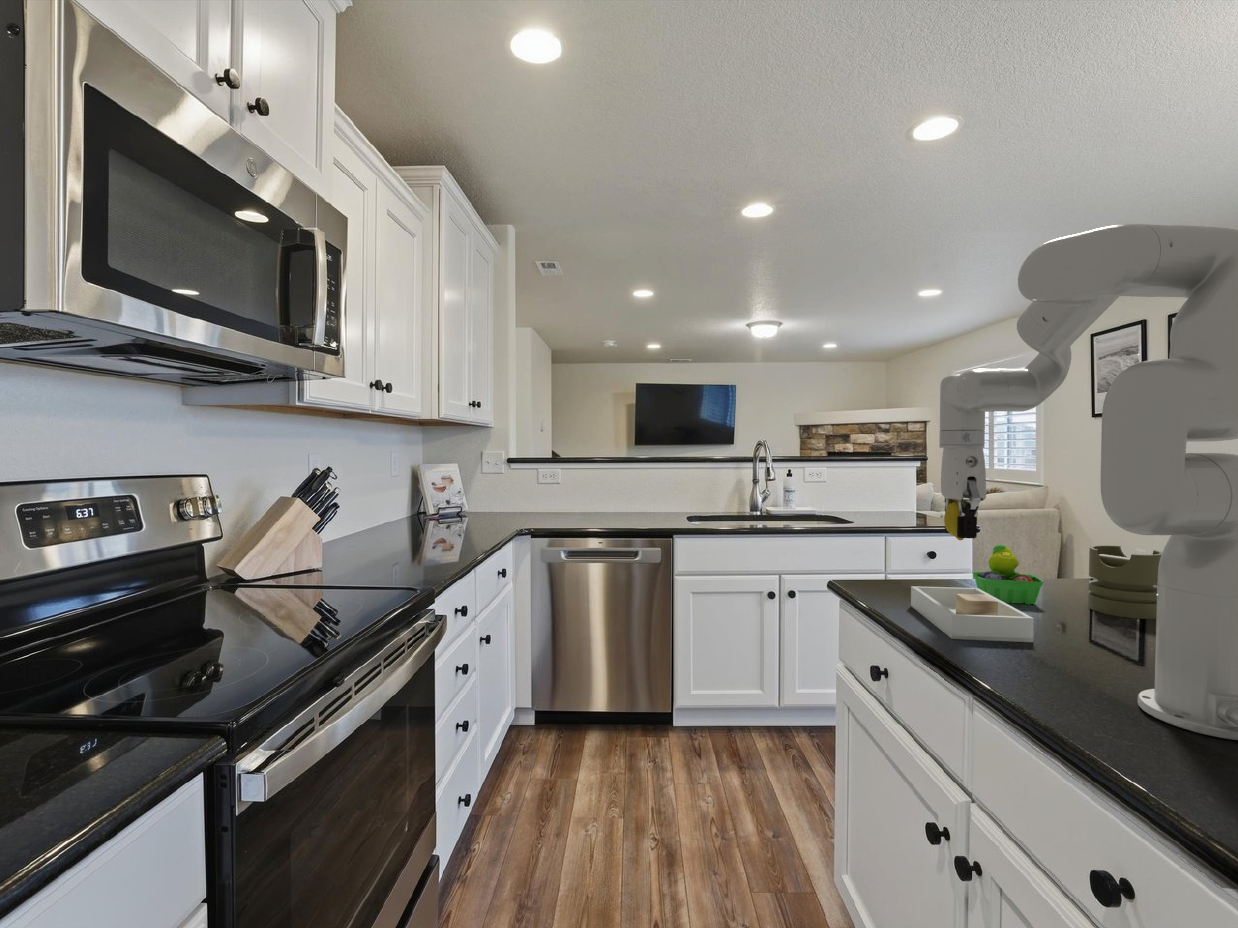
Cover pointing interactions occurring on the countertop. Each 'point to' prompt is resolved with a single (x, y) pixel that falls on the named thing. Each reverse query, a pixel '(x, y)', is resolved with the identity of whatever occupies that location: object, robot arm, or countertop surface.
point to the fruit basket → (1007, 579)
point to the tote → (971, 616)
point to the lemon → (952, 518)
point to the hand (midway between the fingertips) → (960, 534)
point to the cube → (976, 605)
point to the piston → (1123, 582)
